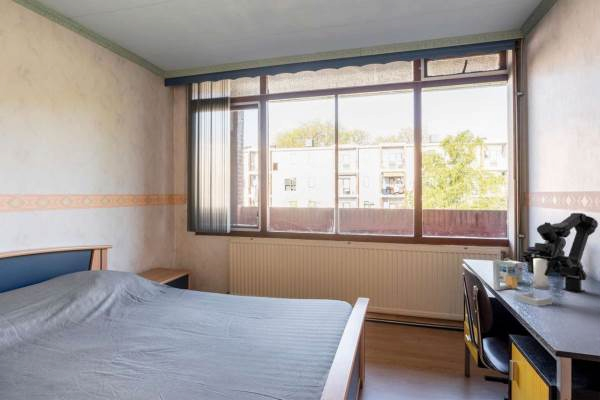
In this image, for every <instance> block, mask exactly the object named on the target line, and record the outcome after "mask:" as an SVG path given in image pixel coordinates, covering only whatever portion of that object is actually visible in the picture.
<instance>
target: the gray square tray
mask: <svg viewBox="0 0 600 400" xmlns="http://www.w3.org/2000/svg"><path fill="white" fill-rule="evenodd" d="M534 295H535V294H534V292H524V293H518V294H517V293H516V300H517V301H519V302H522V303H525V304H529V305H531V304H532V306H534V305H535V306H534V307H541V305H542V306H547V304H548V305H552V304H553V302H554V301H553V297H544V298H539V297H536V296H534Z"/></svg>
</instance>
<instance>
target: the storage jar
mask: <svg viewBox="0 0 600 400" xmlns="http://www.w3.org/2000/svg"><path fill="white" fill-rule="evenodd" d="M526 251H528V252H532V253H533V254H535V255H538V256H539V254H537V251H536V250H534V246H527V247H526ZM526 267H527V268H526V269H527V272H528V273H530V274H532V270H531V263H530V262H526Z"/></svg>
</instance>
